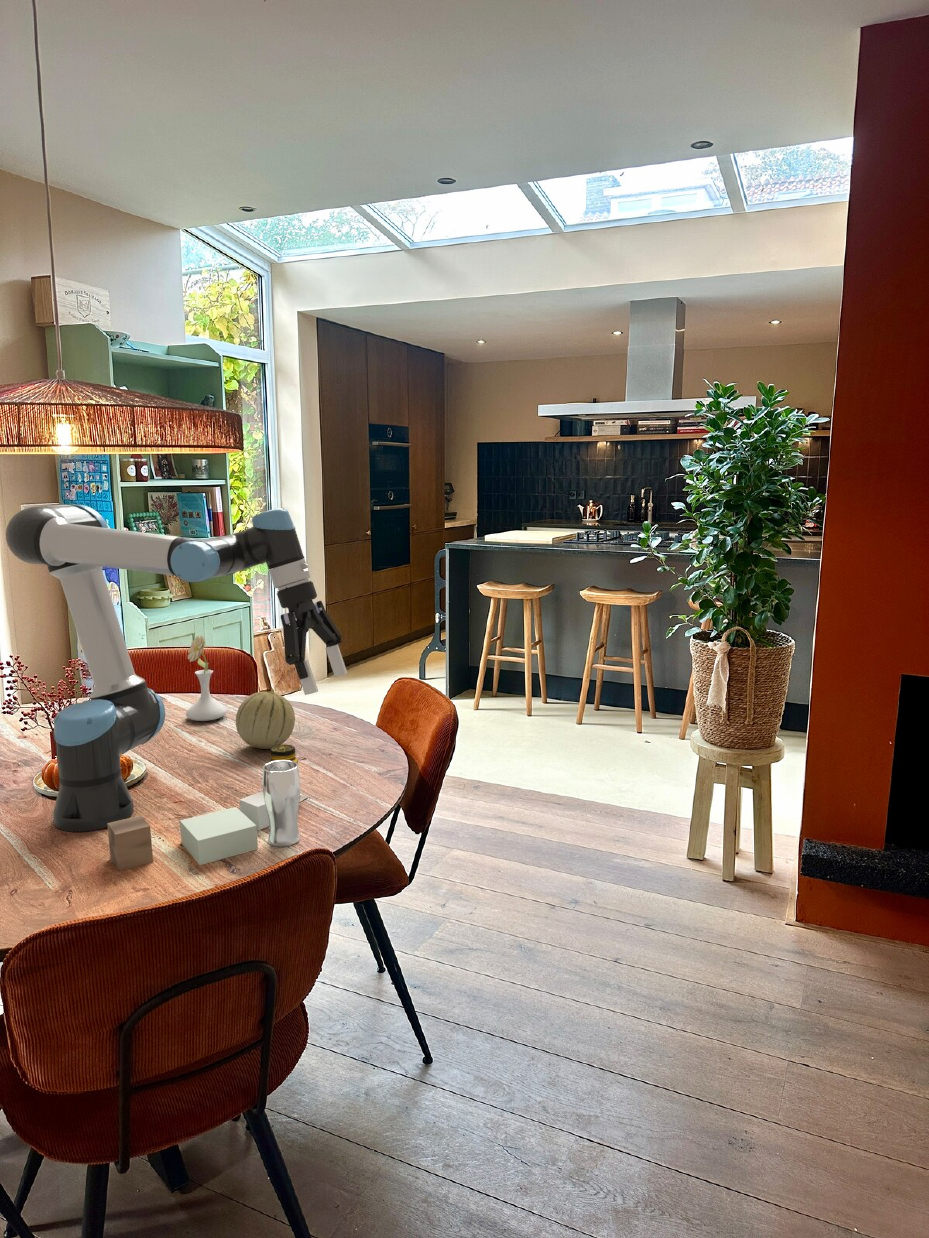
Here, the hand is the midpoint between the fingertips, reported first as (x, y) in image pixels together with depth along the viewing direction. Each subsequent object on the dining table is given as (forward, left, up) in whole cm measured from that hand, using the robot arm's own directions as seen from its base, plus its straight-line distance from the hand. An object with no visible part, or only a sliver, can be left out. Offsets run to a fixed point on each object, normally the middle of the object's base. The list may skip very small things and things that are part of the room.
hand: (327, 684), depth 172 cm
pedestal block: (+3, -25, -27) cm, 37 cm away
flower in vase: (-80, +1, -27) cm, 85 cm away
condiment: (-11, -6, -27) cm, 30 cm away
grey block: (-3, -14, -27) cm, 31 cm away
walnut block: (-1, -40, -27) cm, 49 cm away
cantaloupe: (-46, +5, -27) cm, 54 cm away
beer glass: (+8, -14, -27) cm, 32 cm away
